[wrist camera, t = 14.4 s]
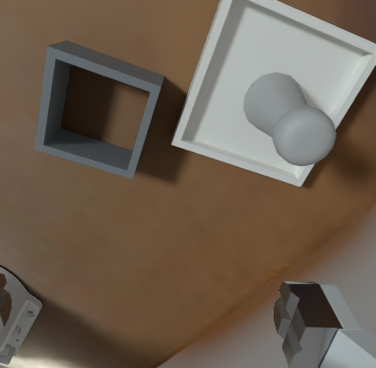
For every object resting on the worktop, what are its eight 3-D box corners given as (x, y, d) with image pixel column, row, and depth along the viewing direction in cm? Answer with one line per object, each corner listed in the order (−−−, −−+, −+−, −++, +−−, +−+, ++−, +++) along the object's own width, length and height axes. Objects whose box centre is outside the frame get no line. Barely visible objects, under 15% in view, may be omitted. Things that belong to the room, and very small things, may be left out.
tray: (293, 176, 39) (300, 186, 37) (172, 136, 36) (171, 144, 34) (371, 45, 32) (385, 48, 30) (226, -18, 29) (230, -20, 27)
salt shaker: (303, 75, 32) (368, 113, 21) (283, 128, 35) (330, 186, 24) (249, 62, 31) (286, 93, 20) (232, 116, 34) (257, 171, 23)
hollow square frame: (138, 159, 38) (132, 179, 33) (52, 132, 36) (34, 149, 32) (164, 76, 33) (161, 86, 29) (66, 40, 31) (47, 45, 27)
